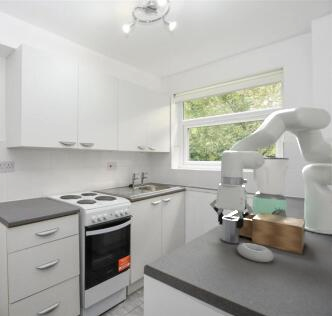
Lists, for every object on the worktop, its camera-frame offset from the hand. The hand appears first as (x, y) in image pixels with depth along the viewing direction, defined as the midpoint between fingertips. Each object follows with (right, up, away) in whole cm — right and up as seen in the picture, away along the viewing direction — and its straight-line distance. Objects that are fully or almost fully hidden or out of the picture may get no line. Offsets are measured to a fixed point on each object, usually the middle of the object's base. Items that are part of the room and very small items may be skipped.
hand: (230, 225), depth 89 cm
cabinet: (+19, -7, -1) cm, 20 cm away
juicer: (+30, -7, +19) cm, 36 cm away
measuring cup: (0, -6, 0) cm, 6 cm away
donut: (0, -7, -14) cm, 16 cm away
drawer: (+10, -6, +8) cm, 14 cm away
